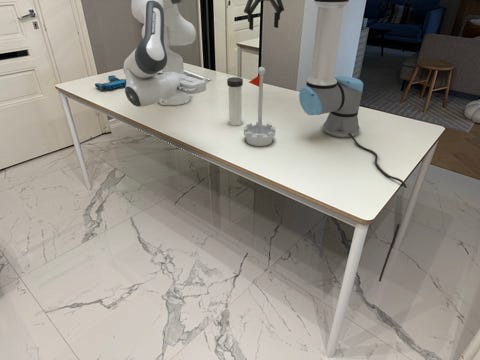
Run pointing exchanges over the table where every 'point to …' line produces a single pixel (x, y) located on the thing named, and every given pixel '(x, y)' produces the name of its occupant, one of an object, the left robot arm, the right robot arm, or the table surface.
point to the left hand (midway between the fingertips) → (198, 77)
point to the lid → (235, 82)
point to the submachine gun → (111, 83)
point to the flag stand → (259, 119)
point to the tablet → (195, 75)
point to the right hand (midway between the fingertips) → (263, 28)
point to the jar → (235, 105)
